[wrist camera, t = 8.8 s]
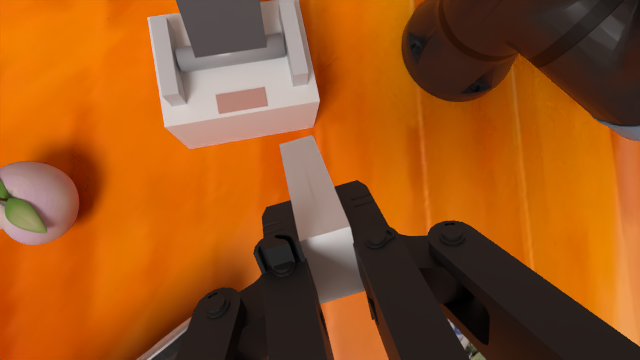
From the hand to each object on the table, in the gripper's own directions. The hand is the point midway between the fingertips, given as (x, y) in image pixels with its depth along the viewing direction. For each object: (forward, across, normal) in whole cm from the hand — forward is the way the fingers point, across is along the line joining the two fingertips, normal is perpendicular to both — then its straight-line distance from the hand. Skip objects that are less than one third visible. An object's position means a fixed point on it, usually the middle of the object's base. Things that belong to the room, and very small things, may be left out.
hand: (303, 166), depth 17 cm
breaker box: (+35, -4, -6) cm, 35 cm away
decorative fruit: (+28, -29, -12) cm, 42 cm away
